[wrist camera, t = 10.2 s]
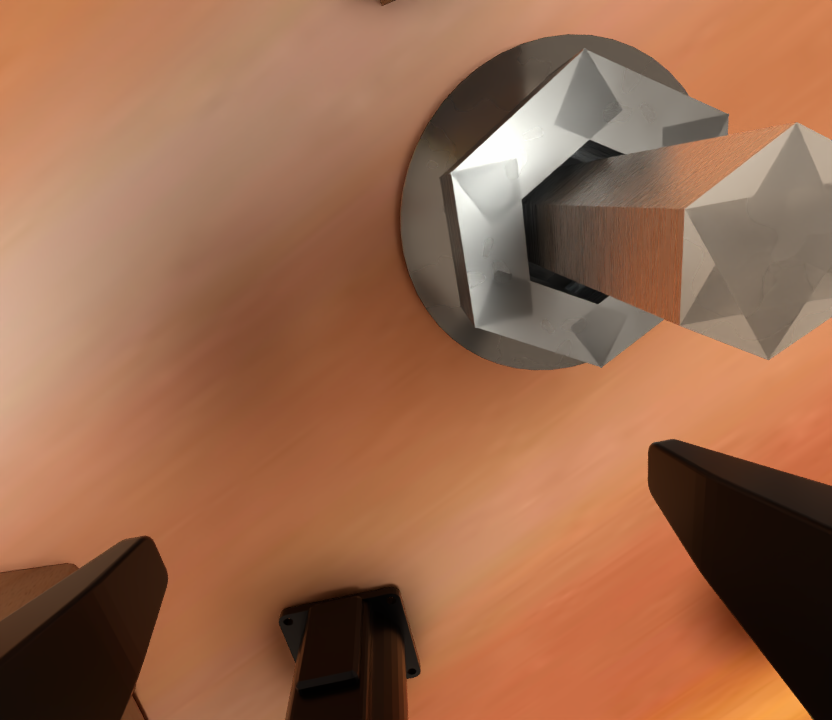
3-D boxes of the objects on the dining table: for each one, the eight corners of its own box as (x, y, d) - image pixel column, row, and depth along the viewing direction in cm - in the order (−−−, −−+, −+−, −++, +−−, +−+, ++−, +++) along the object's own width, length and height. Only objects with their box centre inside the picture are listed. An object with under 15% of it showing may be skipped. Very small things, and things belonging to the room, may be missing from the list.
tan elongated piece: (604, 266, 18) (859, 343, 8) (520, 281, 17) (677, 376, 8) (602, 159, 16) (906, 102, 7) (510, 175, 16) (687, 141, 7)
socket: (746, 235, 18) (839, 244, 15) (519, 412, 21) (549, 459, 17) (592, -43, 15) (661, -124, 11) (335, 206, 17) (321, 208, 13)
